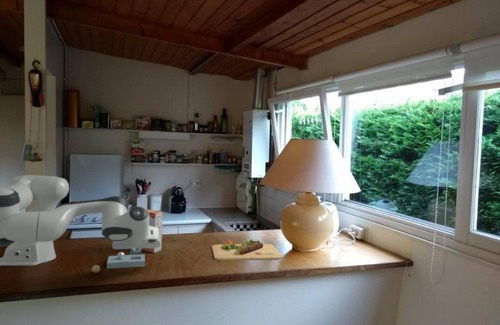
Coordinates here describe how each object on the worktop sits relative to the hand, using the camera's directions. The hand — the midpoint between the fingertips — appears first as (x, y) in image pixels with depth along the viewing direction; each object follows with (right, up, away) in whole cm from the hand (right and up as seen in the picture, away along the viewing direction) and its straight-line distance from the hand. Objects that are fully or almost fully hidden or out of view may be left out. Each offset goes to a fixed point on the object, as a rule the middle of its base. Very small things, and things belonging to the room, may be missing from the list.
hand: (136, 250), depth 154 cm
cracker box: (-3, -6, +25) cm, 26 cm away
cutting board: (+49, -9, +28) cm, 57 cm away
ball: (-8, -3, +2) cm, 9 cm away
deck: (-6, -7, +3) cm, 10 cm away
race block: (-5, -4, +13) cm, 14 cm away
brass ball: (-14, -6, -9) cm, 18 cm away
